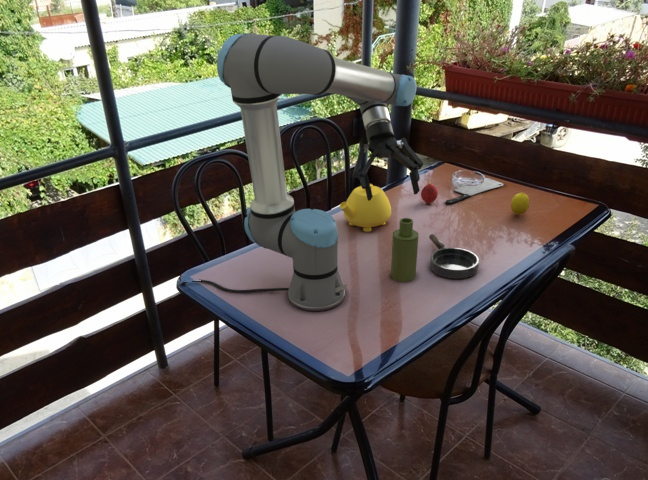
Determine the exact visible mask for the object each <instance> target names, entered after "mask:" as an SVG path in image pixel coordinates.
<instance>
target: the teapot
mask: <svg viewBox="0 0 648 480" xmlns="http://www.w3.org/2000/svg"><path fill="white" fill-rule="evenodd" d="M370 187H371V191H372V196H373V197H372V198H371V200H369V201H368V199H367V195H366V190H365V189H362V187H361V185H359V186H357V187H355V188H354V189H353V190H352V191H351V193H350V194H349V196H348V198H347V199H346V201H343V202H341V203H340V204H339V208H340V209H341V211H342V212H343V217H344V218H345V219H346V220H347V222H348V225H349V226H356V227H361V228H362V230H363V232H371V231H372V229H373V228H374V227H378V226H384V225H386V224H387V223H386V222H387V221H388V220H389V219H390V218H391V216H392V207H391V202H390V200H389V198H388V196H387V194H386V193H385V192H384V190H383V189H382V188H381V187H379V186H376V185H373V183H370ZM372 227H373V228H372Z"/></svg>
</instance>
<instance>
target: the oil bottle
mask: <svg viewBox="0 0 648 480" xmlns="http://www.w3.org/2000/svg"><path fill="white" fill-rule="evenodd" d="M398 227H399V228H398V229H396V230H394V231H393V232H392V241H391V242H392V243H391V263H390V277H391V279H392V280H394V281H397V282H399V283H400V282H402V283H407V282H411V281H413V280H415V278H416V273H417V260H418V247H419V235H420V234H419V232H417V231H416V230H415V229H413V227H414V219H413V218H410V217H403V218H400V219H399V226H398Z"/></svg>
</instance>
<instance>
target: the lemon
mask: <svg viewBox="0 0 648 480" xmlns="http://www.w3.org/2000/svg"><path fill="white" fill-rule="evenodd" d="M529 207H530V197H529V196H528V195H527V194H526V193H524V192H519V193H517V194H515V195H514V196H513V197H512V199H511V202H510V208H511V211H512V212H513V213H514V214H516V215H517V216H520V215H522V214H525V213H526V212H527V211H528V209H529Z"/></svg>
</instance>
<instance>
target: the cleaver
mask: <svg viewBox="0 0 648 480" xmlns="http://www.w3.org/2000/svg"><path fill="white" fill-rule="evenodd" d="M483 178H484V182H483V183H482V184H481V185H477V186H465V185H466V184H464V185H462V186H459V187H458V188H455V189H454V190H453V191H454V192H456V193H459V194H462V195H459V196H457V197H455V198H452V199H447V200H445V204H447V205H452V204H455V203H458V202H461V201H463V200H465V199H467V198H470V197H473V196H475V195H478V194H481V193H484V192H487V191H489V190H494V189H498V188H500V187H504V183H503V182H501V181H497V180H495V179H493V178H489V177H483Z"/></svg>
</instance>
